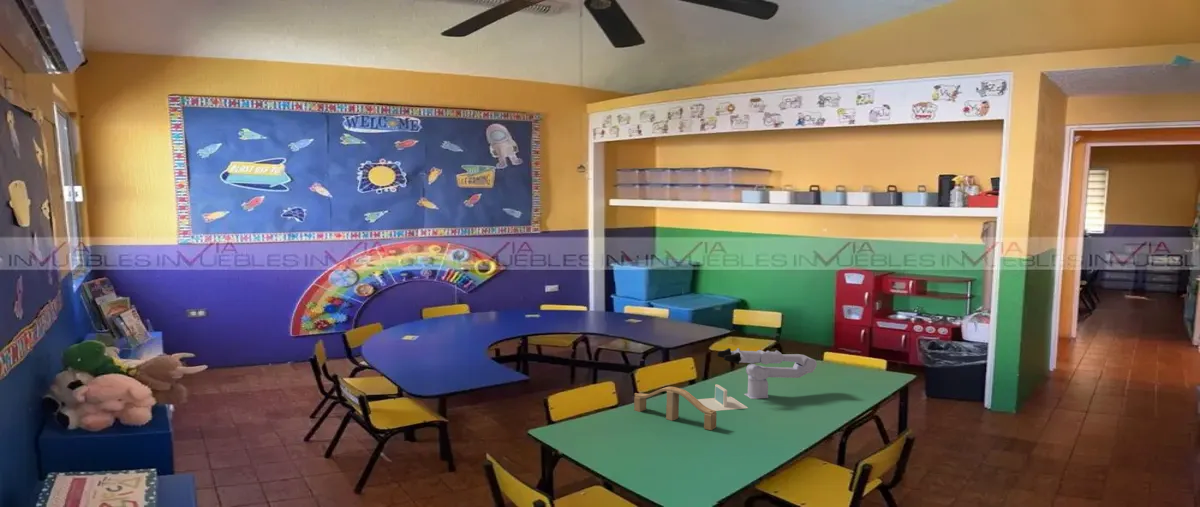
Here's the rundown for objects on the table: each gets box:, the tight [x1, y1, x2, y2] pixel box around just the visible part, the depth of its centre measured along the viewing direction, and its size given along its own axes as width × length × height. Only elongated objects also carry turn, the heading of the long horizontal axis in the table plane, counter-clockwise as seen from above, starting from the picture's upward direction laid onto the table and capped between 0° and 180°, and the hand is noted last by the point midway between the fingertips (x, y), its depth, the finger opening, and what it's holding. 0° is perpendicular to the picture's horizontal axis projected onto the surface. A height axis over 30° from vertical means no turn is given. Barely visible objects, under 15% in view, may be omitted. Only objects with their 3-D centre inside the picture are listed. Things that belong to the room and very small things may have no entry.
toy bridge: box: [633, 386, 717, 431], centre depth 319 cm, size 42×6×14 cm, turn 51°
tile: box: [714, 384, 728, 407], centre depth 340 cm, size 2×10×8 cm, turn 16°
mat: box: [696, 396, 749, 412], centre depth 340 cm, size 22×18×1 cm
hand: (721, 356), depth 345 cm, fingers open, 7 cm apart
